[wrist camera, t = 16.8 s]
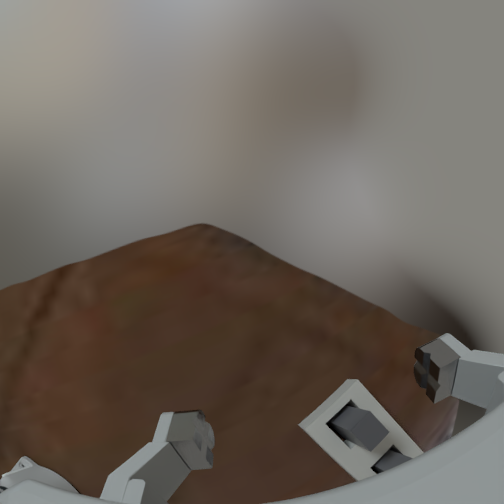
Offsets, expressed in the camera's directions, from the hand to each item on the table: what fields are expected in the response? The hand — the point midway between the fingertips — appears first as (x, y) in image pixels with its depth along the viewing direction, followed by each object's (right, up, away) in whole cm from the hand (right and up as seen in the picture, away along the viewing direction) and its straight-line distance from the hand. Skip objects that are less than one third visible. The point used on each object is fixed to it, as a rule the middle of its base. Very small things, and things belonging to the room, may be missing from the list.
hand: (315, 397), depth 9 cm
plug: (+10, -17, +23) cm, 30 cm away
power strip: (+9, -24, +20) cm, 32 cm away
